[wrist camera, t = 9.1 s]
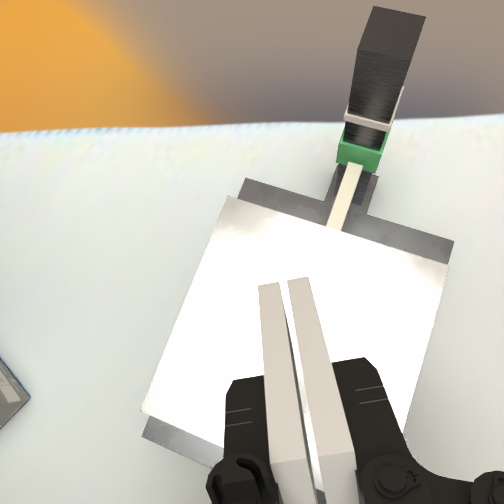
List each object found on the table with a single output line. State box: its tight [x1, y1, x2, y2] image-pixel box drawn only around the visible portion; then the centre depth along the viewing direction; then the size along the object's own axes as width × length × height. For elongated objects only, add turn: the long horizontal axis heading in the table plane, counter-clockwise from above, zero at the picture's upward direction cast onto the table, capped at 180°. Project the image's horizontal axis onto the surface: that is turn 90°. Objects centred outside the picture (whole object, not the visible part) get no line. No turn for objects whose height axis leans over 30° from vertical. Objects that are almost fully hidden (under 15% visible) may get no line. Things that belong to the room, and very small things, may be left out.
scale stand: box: [141, 6, 454, 504], centre depth 22 cm, size 15×22×16 cm
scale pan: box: [140, 162, 449, 492], centre depth 25 cm, size 12×16×7 cm
